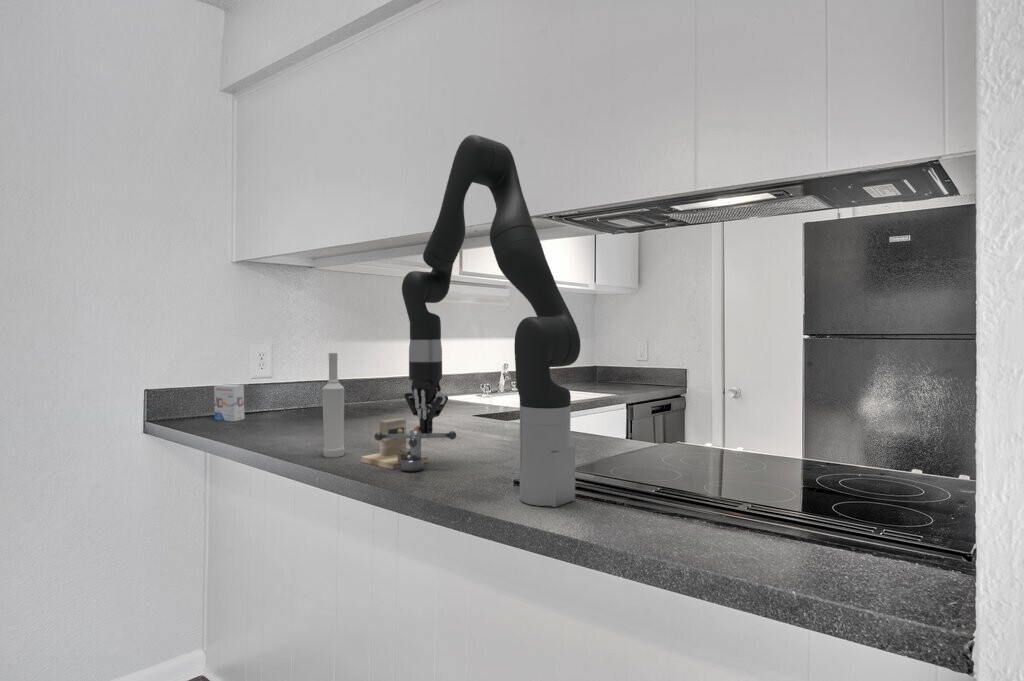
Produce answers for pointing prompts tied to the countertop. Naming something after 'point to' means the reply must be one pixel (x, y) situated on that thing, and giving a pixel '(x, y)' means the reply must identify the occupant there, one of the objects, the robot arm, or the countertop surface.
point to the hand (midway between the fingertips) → (426, 435)
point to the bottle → (333, 412)
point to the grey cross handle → (414, 446)
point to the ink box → (229, 402)
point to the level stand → (391, 446)
